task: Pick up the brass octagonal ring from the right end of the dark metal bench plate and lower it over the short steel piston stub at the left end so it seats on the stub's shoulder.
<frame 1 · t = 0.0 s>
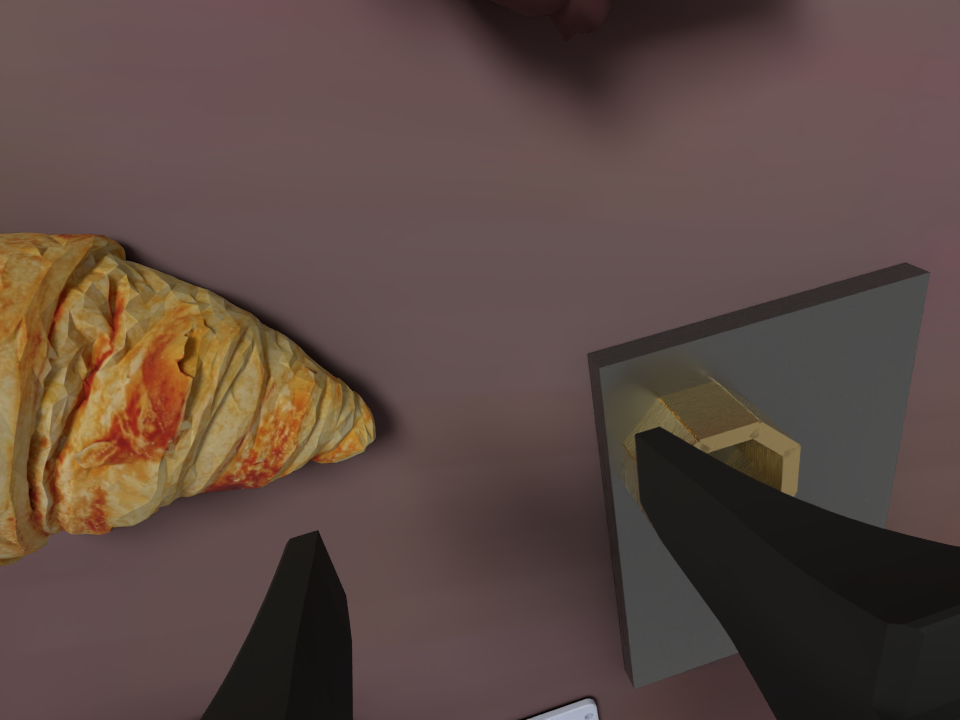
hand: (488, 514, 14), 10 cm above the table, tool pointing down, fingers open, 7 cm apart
croissant: (48, 363, 21), on the table
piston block: (746, 493, 31), on the table
ring: (688, 446, 27), point 1 cm above the table, touching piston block
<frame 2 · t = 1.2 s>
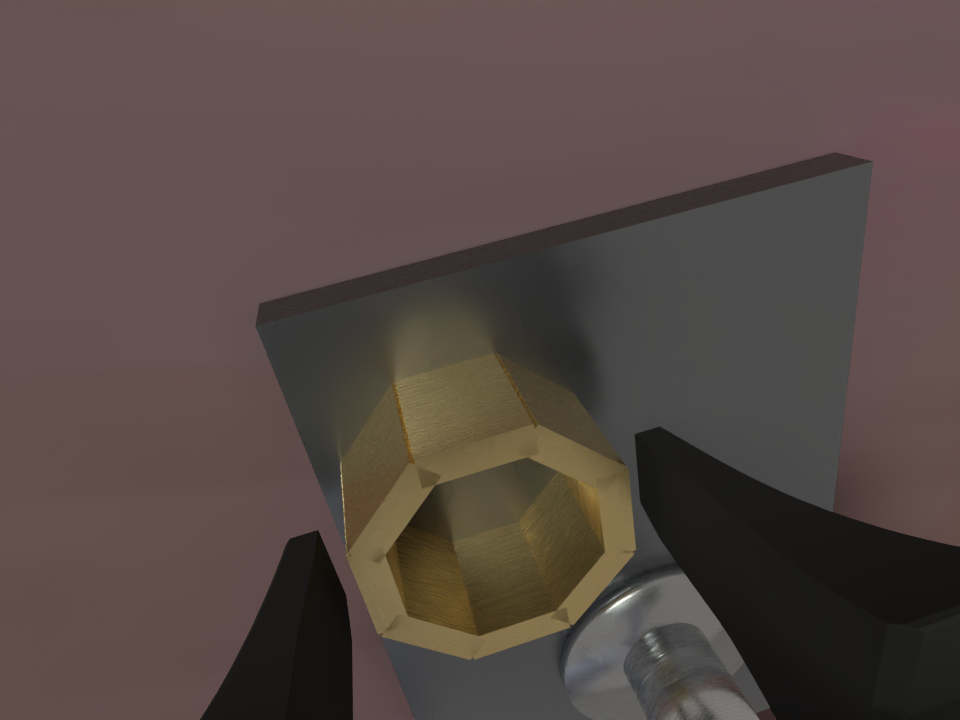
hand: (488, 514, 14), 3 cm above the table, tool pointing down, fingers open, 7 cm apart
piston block: (602, 536, 20), on the table
ring: (469, 467, 16), point 1 cm above the table, touching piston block
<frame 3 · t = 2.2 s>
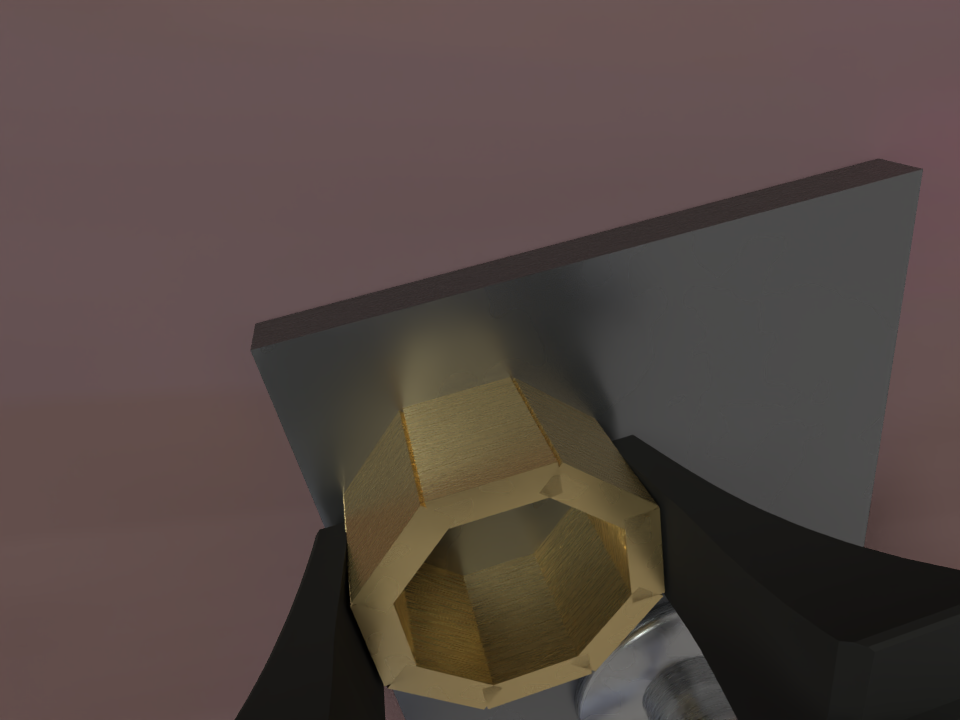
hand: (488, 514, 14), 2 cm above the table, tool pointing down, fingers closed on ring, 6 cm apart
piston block: (620, 564, 18), on the table
ring: (482, 497, 15), point 1 cm above the table, touching gripper, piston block
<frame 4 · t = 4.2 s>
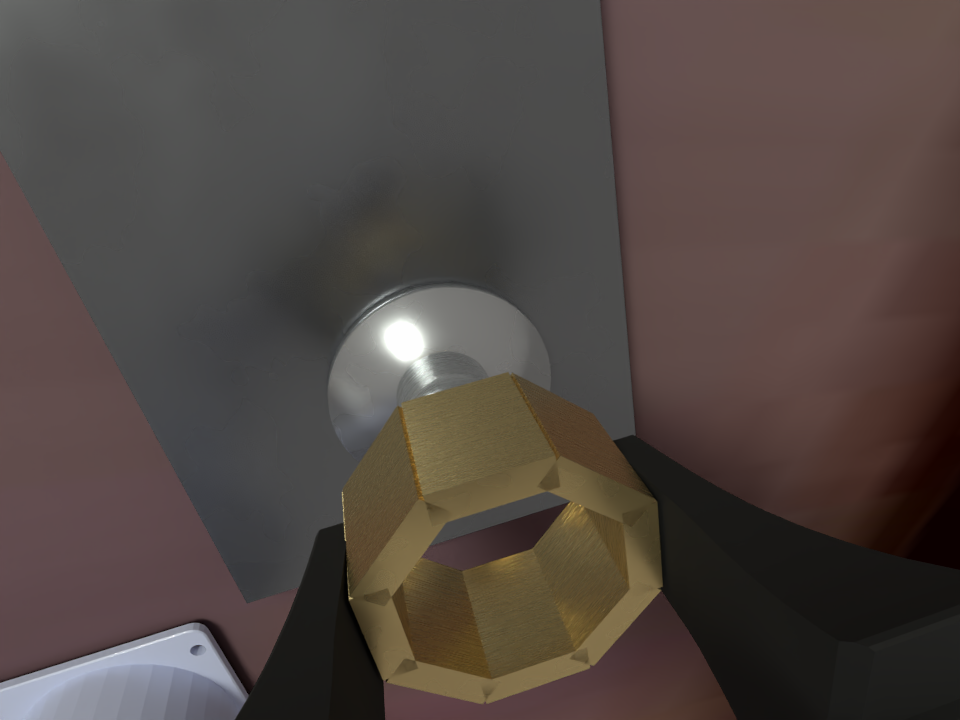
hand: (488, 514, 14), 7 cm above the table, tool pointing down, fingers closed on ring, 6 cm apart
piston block: (368, 257, 18), on the table
ring: (481, 492, 15), point 6 cm above the table, touching gripper
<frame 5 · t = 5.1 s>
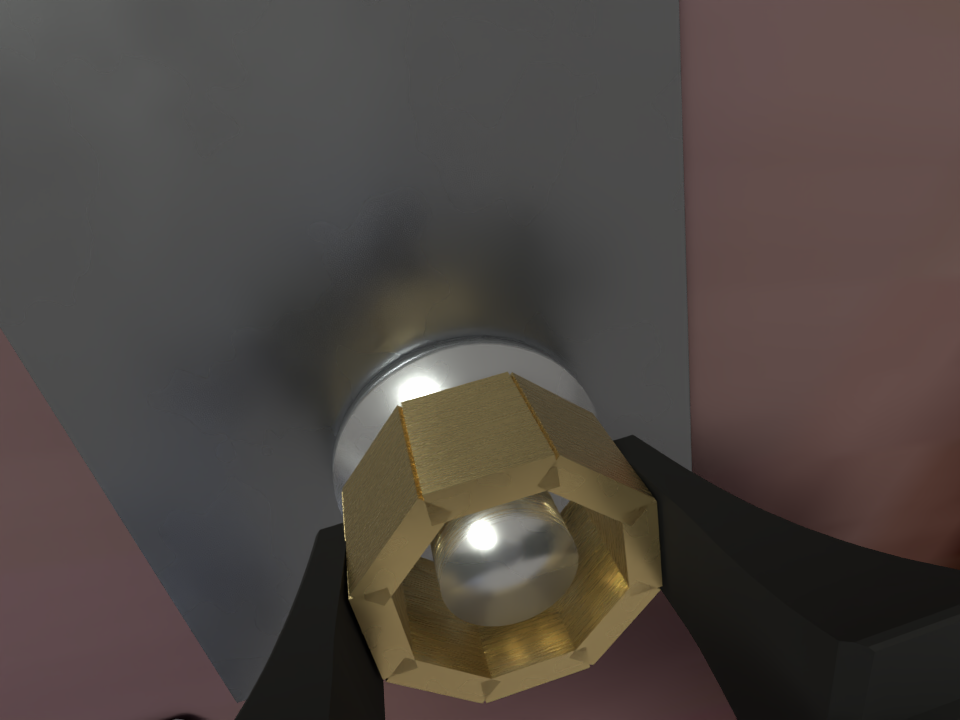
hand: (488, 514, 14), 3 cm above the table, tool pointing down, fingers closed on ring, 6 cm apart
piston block: (382, 305, 15), on the table
ring: (480, 492, 15), point 3 cm above the table, touching gripper
when the fingers open (3 cm above the table, at t = 6.0 s): ring drops 1 cm, resting on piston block.
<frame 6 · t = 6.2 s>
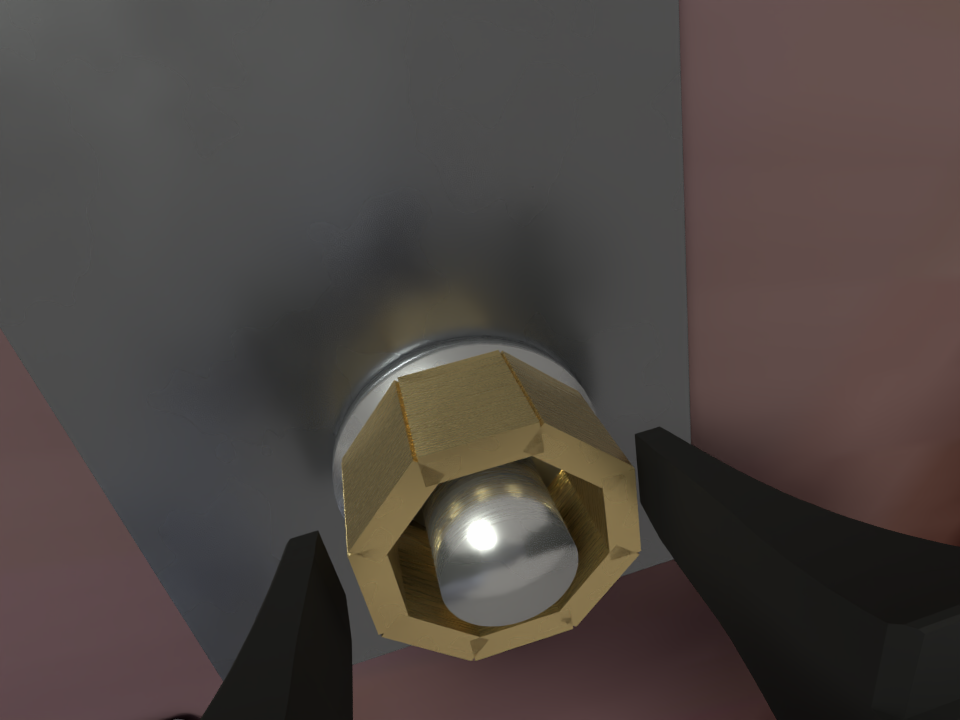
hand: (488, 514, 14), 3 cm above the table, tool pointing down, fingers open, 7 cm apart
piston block: (382, 305, 15), on the table
ring: (472, 465, 16), point 2 cm above the table, touching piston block
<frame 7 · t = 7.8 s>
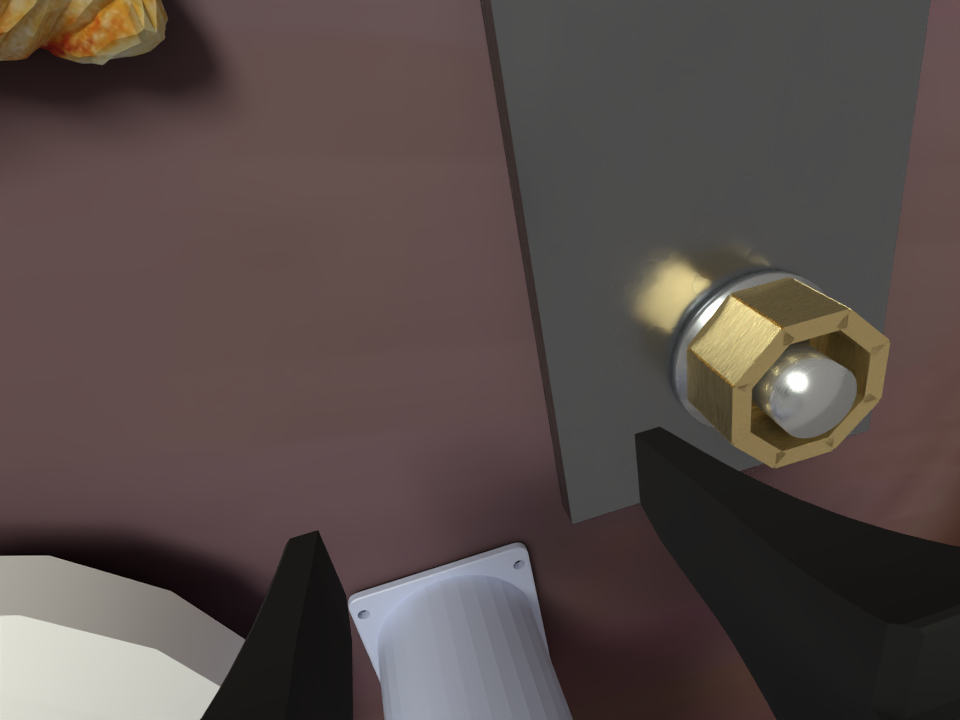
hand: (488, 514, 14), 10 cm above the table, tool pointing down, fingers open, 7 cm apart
candle holder: (33, 685, 26), on the table
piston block: (707, 251, 24), on the table
ring: (757, 354, 24), point 2 cm above the table, touching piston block
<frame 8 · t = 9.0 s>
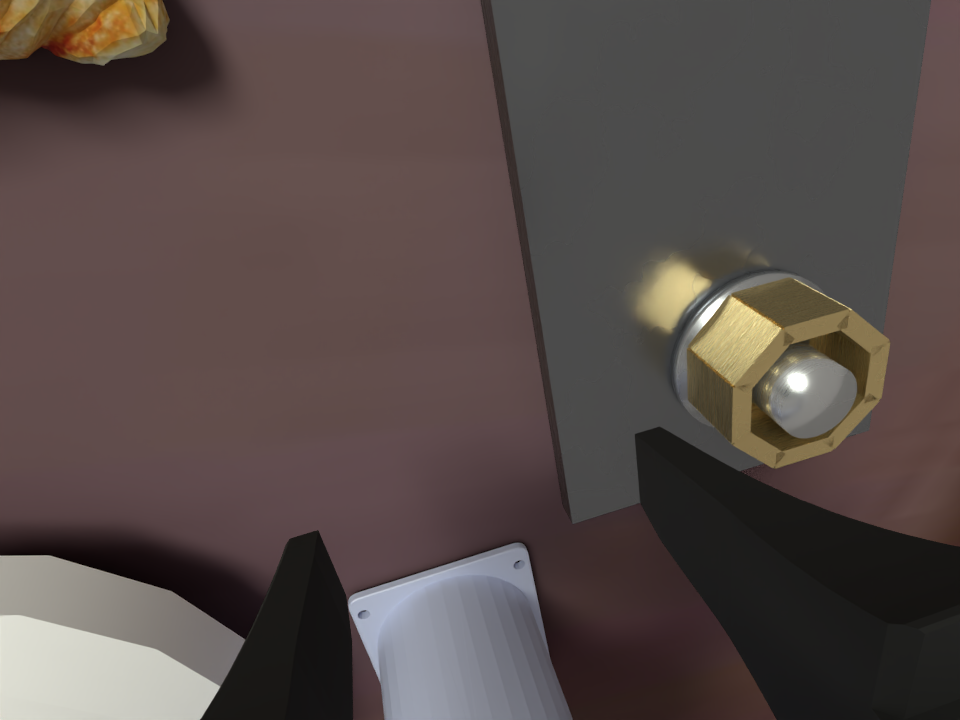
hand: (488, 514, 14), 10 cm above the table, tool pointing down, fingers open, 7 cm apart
candle holder: (33, 685, 26), on the table
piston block: (708, 251, 24), on the table
ring: (757, 354, 24), point 2 cm above the table, touching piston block
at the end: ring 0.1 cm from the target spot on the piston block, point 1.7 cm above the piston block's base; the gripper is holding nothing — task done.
